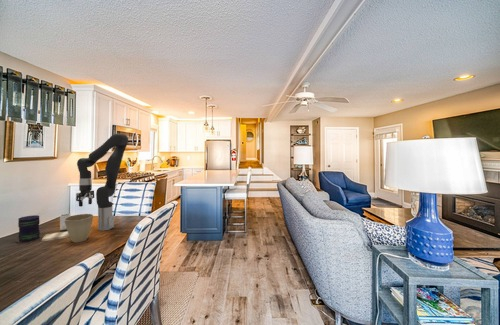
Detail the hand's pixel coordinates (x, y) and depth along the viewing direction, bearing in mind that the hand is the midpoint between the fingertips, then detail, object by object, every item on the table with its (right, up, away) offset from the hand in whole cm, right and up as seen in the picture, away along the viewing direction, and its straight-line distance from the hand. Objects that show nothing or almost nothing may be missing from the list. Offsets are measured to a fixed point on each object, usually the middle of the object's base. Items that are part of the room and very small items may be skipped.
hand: (85, 205), depth 161 cm
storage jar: (-22, -19, -21) cm, 35 cm away
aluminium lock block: (-12, -18, -4) cm, 22 cm away
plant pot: (+12, -20, -21) cm, 31 cm away
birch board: (-6, -19, -15) cm, 25 cm away
